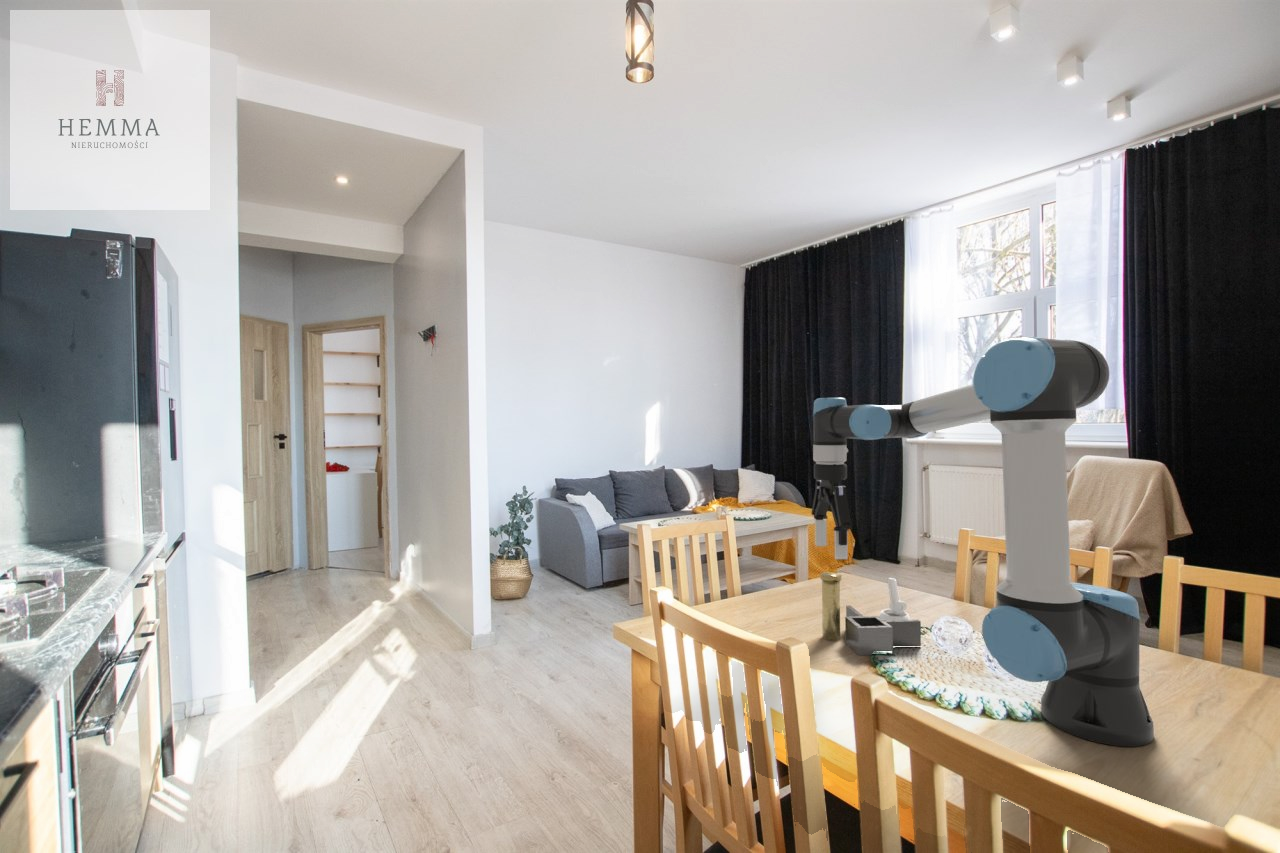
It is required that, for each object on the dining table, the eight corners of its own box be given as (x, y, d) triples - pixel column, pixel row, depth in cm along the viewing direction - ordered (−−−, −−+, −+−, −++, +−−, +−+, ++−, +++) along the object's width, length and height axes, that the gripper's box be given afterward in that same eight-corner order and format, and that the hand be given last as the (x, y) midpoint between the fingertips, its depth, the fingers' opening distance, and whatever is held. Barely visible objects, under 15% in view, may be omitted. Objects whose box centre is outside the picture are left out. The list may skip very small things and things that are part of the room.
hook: (892, 588, 164) (908, 579, 158) (901, 633, 157) (918, 625, 151) (868, 584, 162) (883, 575, 157) (876, 629, 155) (892, 621, 150)
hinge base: (928, 653, 132) (928, 626, 132) (858, 655, 131) (858, 628, 131) (895, 628, 147) (895, 604, 147) (833, 630, 147) (832, 605, 147)
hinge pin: (845, 641, 140) (844, 577, 140) (824, 641, 139) (824, 577, 139) (837, 633, 144) (837, 571, 144) (817, 634, 144) (817, 572, 144)
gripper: (867, 467, 129) (868, 564, 130) (827, 458, 154) (827, 540, 154) (833, 467, 129) (833, 565, 129) (798, 459, 154) (799, 541, 154)
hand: (830, 552), depth 142 cm, fingers open, 13 cm apart
